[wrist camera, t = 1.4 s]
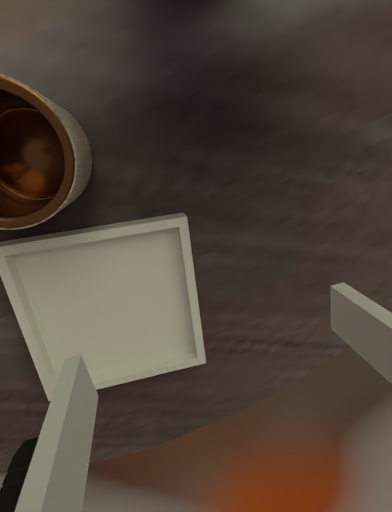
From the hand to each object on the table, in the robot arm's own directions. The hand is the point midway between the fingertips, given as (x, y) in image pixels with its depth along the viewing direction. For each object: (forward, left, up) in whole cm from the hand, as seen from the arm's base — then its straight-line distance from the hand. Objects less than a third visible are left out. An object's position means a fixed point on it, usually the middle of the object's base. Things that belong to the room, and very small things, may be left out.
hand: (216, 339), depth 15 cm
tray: (+8, -8, -21) cm, 24 cm away
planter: (-10, -12, -22) cm, 27 cm away
